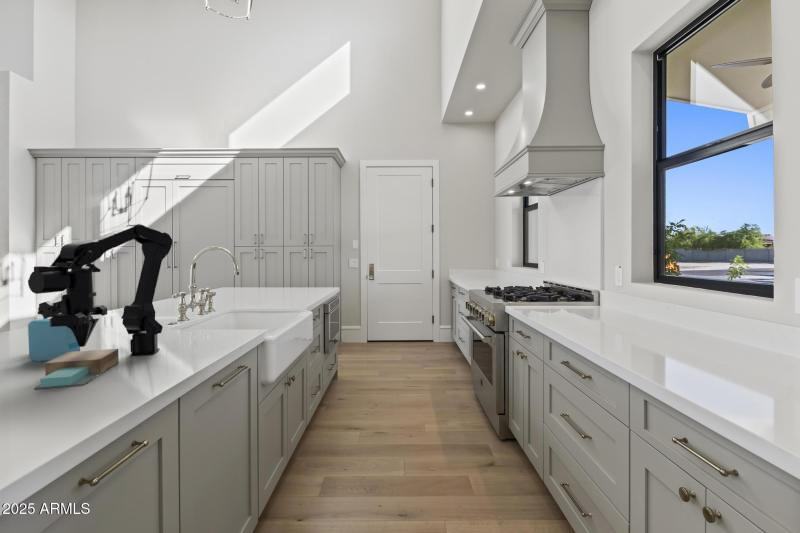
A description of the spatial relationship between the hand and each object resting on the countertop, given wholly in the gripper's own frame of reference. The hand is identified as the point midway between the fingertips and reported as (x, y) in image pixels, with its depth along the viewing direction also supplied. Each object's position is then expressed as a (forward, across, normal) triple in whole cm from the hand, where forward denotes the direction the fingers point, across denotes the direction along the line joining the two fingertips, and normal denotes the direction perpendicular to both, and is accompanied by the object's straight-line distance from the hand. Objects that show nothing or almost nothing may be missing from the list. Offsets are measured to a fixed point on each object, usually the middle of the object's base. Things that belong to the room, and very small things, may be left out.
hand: (82, 346), depth 109 cm
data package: (+7, -16, -14) cm, 22 cm away
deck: (+6, 0, 0) cm, 7 cm away
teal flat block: (+6, +11, 0) cm, 12 cm away
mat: (+6, +10, +1) cm, 12 cm away
